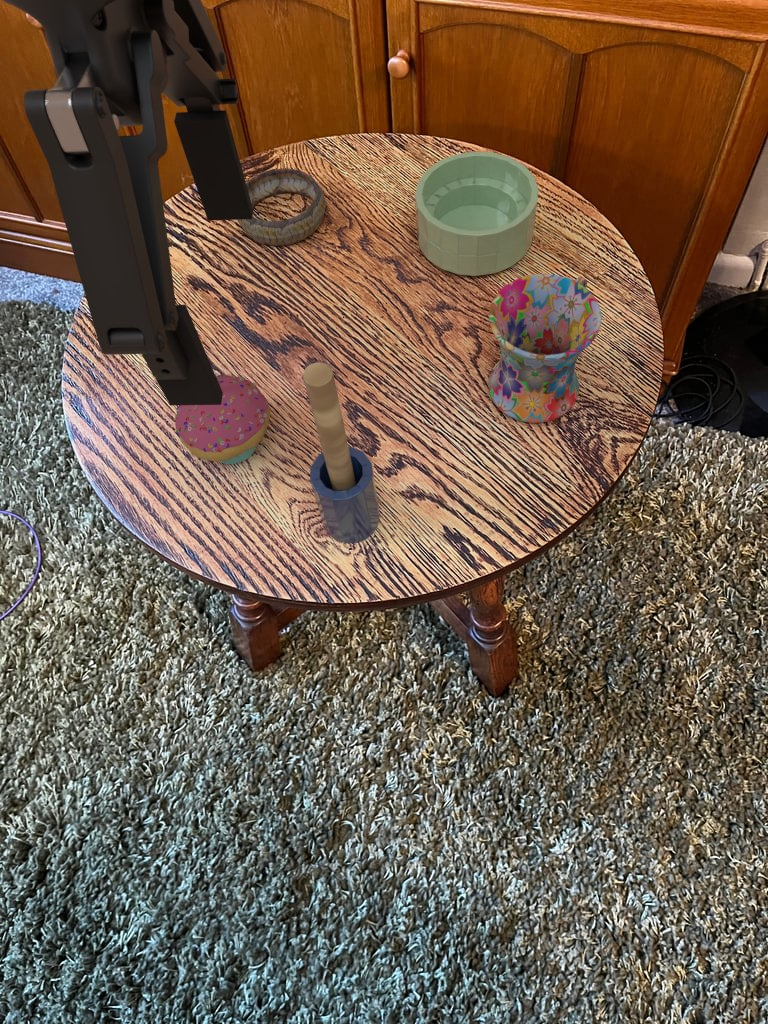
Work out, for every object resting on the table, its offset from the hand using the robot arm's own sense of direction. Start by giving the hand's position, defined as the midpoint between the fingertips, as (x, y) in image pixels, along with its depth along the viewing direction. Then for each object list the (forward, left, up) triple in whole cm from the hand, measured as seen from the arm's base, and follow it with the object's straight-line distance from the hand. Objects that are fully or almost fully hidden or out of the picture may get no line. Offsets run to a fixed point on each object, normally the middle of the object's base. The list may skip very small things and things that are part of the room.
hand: (215, 301), depth 43 cm
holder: (-3, -3, -29) cm, 29 cm away
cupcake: (+11, -5, -29) cm, 31 cm away
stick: (-3, -3, -28) cm, 28 cm away
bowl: (+2, -39, -29) cm, 48 cm away
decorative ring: (+23, -33, -29) cm, 49 cm away
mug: (-12, -24, -29) cm, 40 cm away
